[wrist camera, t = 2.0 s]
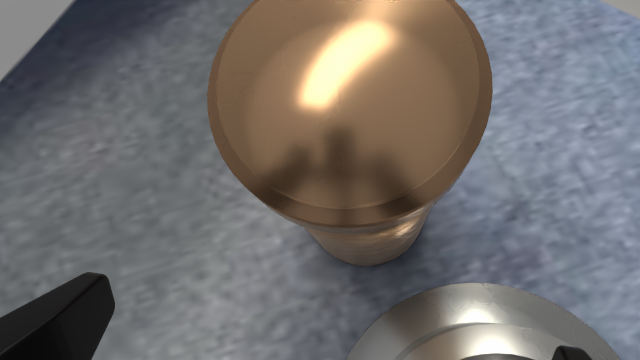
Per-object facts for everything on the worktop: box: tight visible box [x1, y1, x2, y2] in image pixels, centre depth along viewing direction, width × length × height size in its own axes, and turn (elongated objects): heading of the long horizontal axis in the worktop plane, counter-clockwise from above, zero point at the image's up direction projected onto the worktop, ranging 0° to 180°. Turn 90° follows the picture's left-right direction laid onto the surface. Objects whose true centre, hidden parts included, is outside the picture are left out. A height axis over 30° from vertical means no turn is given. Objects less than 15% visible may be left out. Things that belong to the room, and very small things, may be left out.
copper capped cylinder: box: [207, 0, 492, 266], centre depth 16 cm, size 6×6×12 cm
